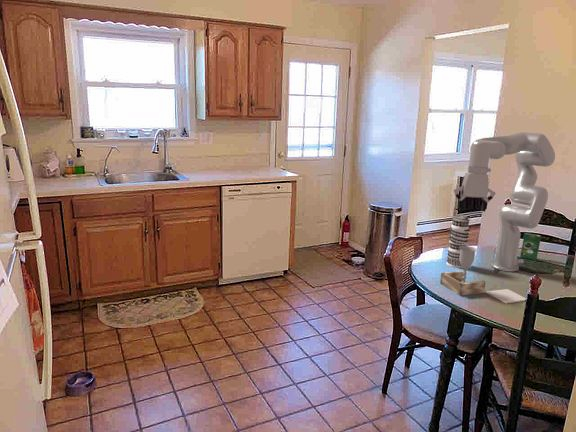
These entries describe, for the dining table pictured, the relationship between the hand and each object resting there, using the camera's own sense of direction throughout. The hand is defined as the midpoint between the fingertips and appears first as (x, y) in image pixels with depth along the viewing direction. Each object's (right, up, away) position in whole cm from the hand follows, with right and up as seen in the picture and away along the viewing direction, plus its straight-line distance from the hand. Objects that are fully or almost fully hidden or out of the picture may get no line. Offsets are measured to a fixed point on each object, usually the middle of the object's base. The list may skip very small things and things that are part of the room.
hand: (471, 210), depth 193 cm
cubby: (-3, -34, +2) cm, 34 cm away
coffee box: (+48, -25, +44) cm, 70 cm away
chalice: (-3, -34, +2) cm, 34 cm away
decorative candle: (+4, -27, +30) cm, 41 cm away
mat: (+12, -36, -6) cm, 39 cm away
